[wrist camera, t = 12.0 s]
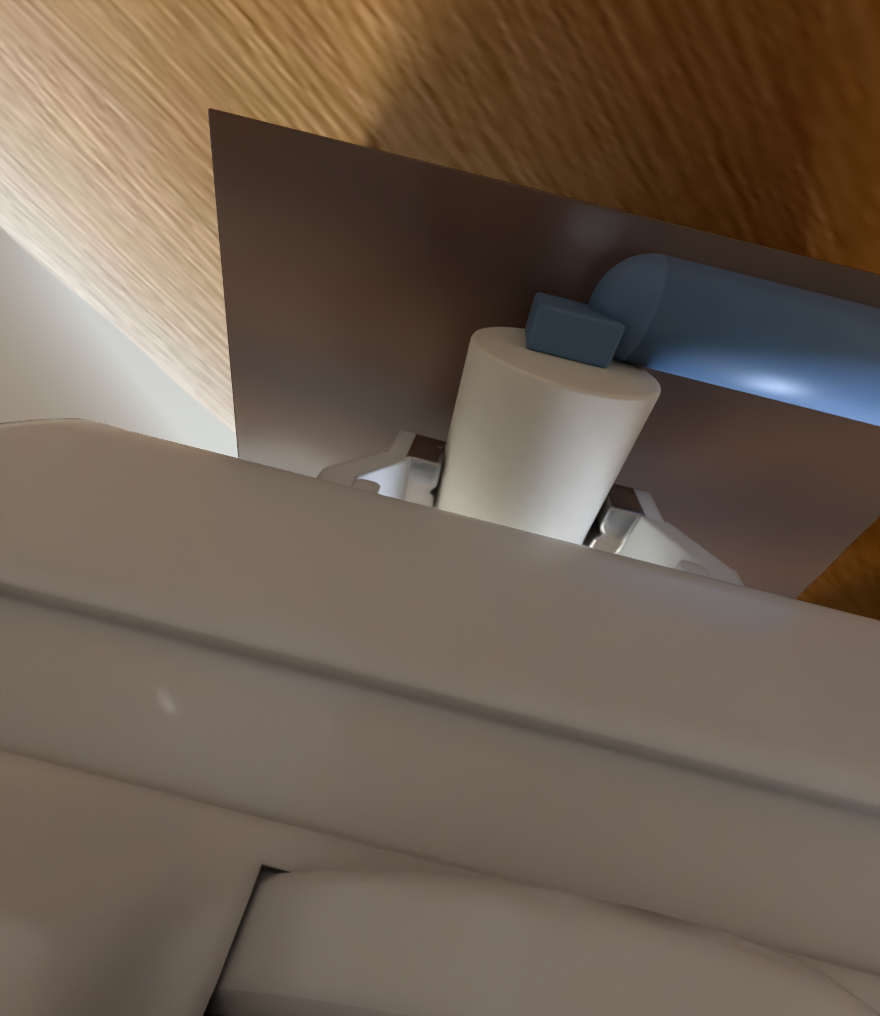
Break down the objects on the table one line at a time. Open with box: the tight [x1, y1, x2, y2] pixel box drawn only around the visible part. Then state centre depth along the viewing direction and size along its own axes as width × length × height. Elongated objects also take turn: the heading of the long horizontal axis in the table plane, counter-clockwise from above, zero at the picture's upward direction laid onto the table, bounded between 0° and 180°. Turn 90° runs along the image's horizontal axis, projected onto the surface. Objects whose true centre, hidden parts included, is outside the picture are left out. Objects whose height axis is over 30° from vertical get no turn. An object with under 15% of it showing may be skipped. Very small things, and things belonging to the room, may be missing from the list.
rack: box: [208, 108, 880, 599], centre depth 19 cm, size 14×22×12 cm, turn 79°
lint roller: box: [432, 253, 880, 545], centre depth 12 cm, size 12×12×5 cm
